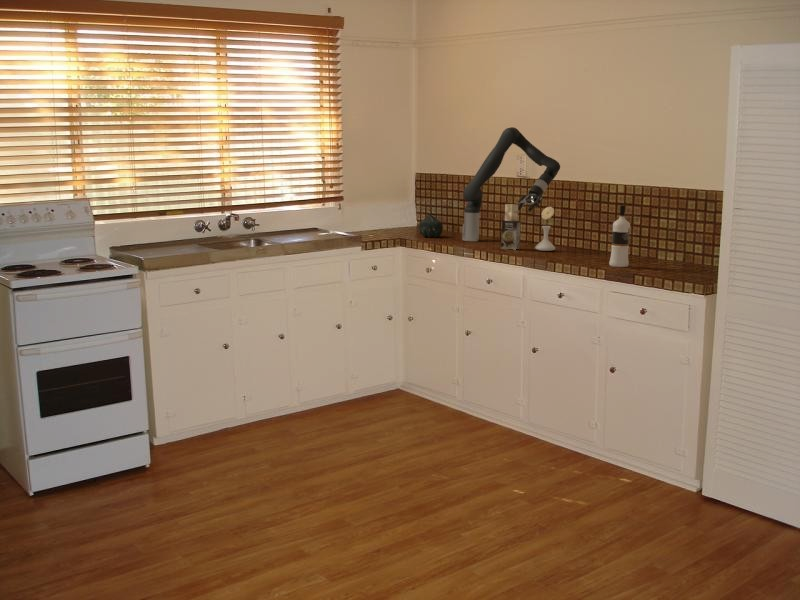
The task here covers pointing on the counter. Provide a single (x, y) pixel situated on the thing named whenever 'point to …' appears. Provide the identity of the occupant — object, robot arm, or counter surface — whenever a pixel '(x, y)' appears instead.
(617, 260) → the vodka
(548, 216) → the flower in vase
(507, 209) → the maple block
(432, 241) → the counter surface
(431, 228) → the squash
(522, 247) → the counter surface
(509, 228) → the coffee box
